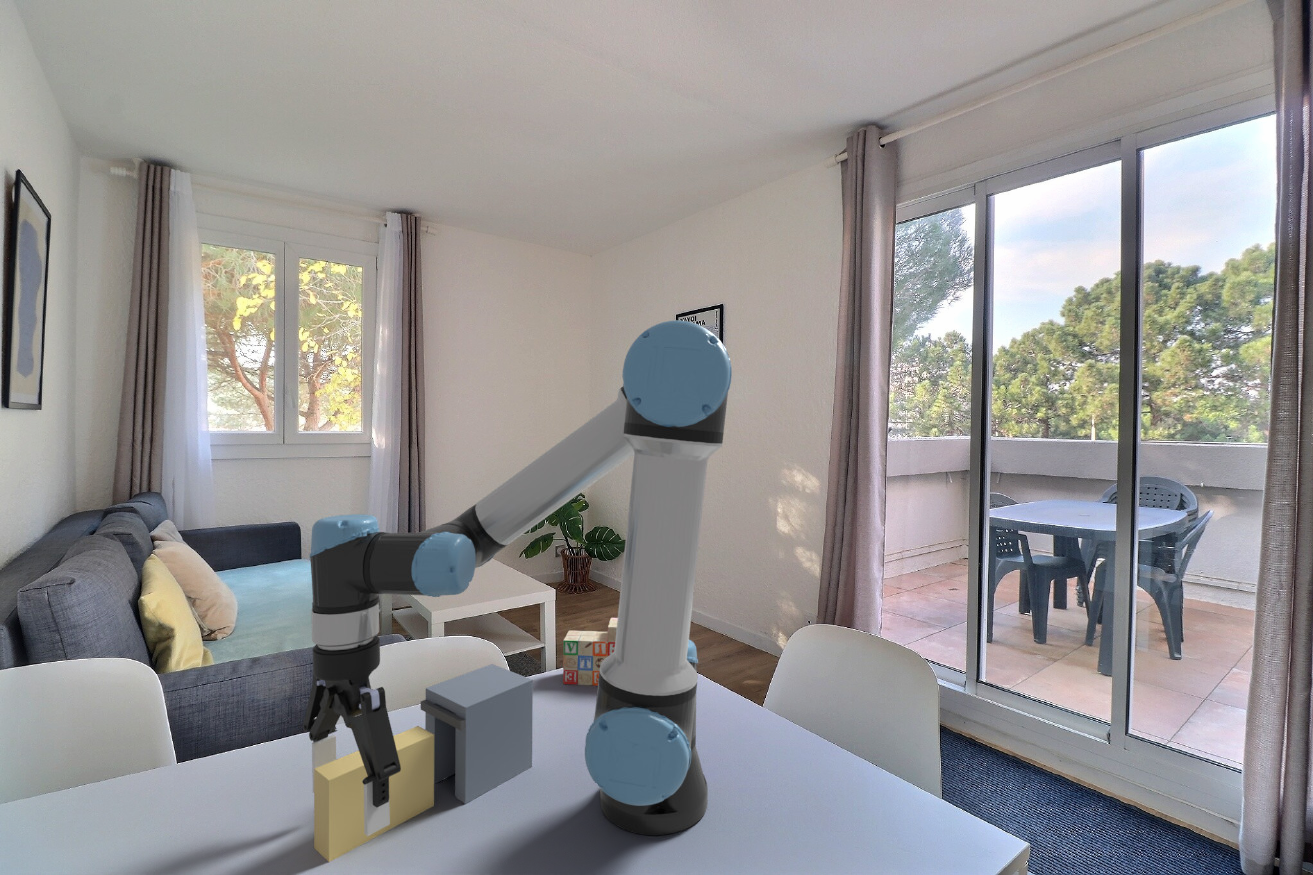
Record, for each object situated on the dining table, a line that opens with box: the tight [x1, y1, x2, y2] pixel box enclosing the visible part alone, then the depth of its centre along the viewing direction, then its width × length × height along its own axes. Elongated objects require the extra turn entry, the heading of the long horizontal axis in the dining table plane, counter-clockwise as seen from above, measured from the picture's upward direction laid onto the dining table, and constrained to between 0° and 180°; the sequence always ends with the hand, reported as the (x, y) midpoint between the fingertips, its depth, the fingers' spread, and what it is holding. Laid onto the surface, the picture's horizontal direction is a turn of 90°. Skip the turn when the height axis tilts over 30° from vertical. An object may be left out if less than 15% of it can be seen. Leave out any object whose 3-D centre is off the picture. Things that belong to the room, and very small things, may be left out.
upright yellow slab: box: [313, 725, 435, 863], centre depth 80 cm, size 4×14×10 cm, turn 142°
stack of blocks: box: [562, 617, 618, 687], centre depth 127 cm, size 21×6×12 cm, turn 87°
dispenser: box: [420, 663, 534, 805], centre depth 92 cm, size 10×13×14 cm
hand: (349, 807), depth 77 cm, fingers open, 13 cm apart
